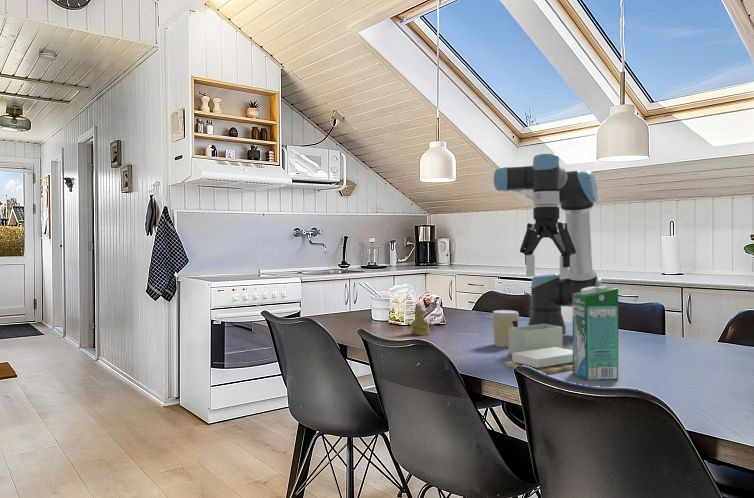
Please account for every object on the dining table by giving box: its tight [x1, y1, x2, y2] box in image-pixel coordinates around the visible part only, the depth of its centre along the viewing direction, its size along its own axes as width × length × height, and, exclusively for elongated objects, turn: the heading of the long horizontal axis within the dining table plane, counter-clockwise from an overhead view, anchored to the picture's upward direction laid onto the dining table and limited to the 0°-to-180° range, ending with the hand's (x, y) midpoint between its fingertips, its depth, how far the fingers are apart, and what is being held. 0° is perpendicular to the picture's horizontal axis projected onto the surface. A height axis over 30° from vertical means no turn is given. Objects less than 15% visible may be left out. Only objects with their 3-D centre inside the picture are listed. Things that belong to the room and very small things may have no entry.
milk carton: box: [572, 284, 619, 381], centre depth 162 cm, size 9×9×25 cm
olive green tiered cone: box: [410, 308, 430, 336], centre depth 235 cm, size 7×7×10 cm
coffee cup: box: [491, 309, 520, 348], centre depth 209 cm, size 9×9×12 cm
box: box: [508, 324, 564, 357], centre depth 192 cm, size 16×8×9 cm, turn 119°
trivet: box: [504, 360, 573, 375], centre depth 176 cm, size 20×15×1 cm
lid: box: [511, 347, 573, 368], centre depth 176 cm, size 18×10×3 cm, turn 119°
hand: (546, 277), depth 175 cm, fingers open, 13 cm apart
